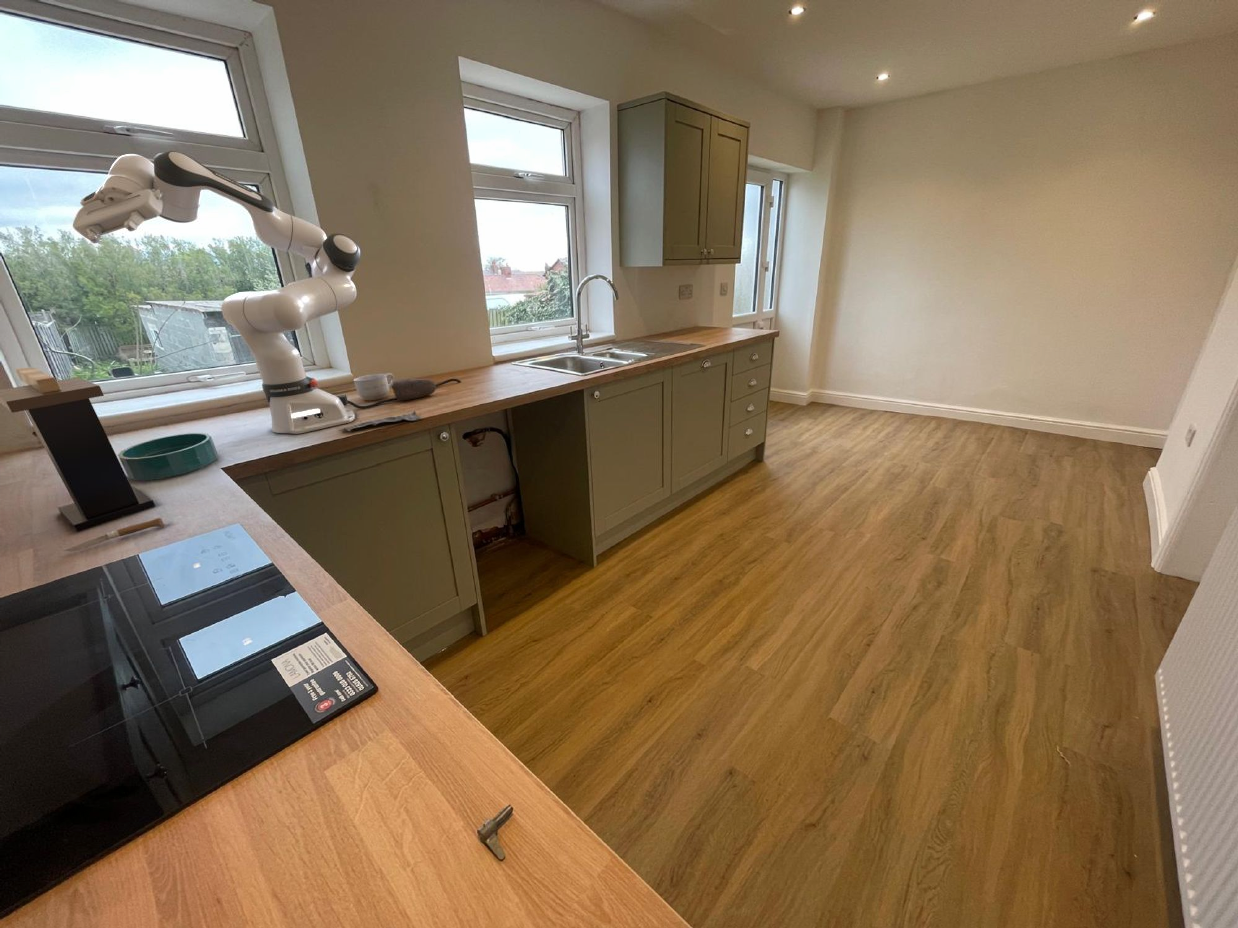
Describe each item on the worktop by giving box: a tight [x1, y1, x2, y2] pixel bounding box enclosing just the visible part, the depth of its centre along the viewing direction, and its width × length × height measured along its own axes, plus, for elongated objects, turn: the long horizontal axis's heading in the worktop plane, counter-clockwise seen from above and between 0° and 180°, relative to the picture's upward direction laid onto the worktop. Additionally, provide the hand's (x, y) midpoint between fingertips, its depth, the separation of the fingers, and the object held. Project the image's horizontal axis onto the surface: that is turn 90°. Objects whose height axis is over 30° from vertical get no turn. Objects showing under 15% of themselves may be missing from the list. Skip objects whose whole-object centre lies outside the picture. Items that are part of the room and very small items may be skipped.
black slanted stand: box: [0, 376, 156, 533], centre depth 100 cm, size 16×12×26 cm
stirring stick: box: [14, 366, 61, 393], centre depth 97 cm, size 22×2×2 cm, turn 55°
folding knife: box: [63, 517, 165, 552], centre depth 92 cm, size 14×2×2 cm, turn 135°
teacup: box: [353, 372, 396, 401], centre depth 179 cm, size 14×11×8 cm
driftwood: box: [343, 410, 420, 432], centre depth 151 cm, size 21×7×2 cm, turn 121°
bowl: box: [117, 432, 219, 481], centre depth 124 cm, size 18×18×6 cm
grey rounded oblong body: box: [391, 378, 437, 401], centre depth 176 cm, size 15×5×7 cm, turn 126°
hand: (111, 234), depth 120 cm, fingers open, 8 cm apart
